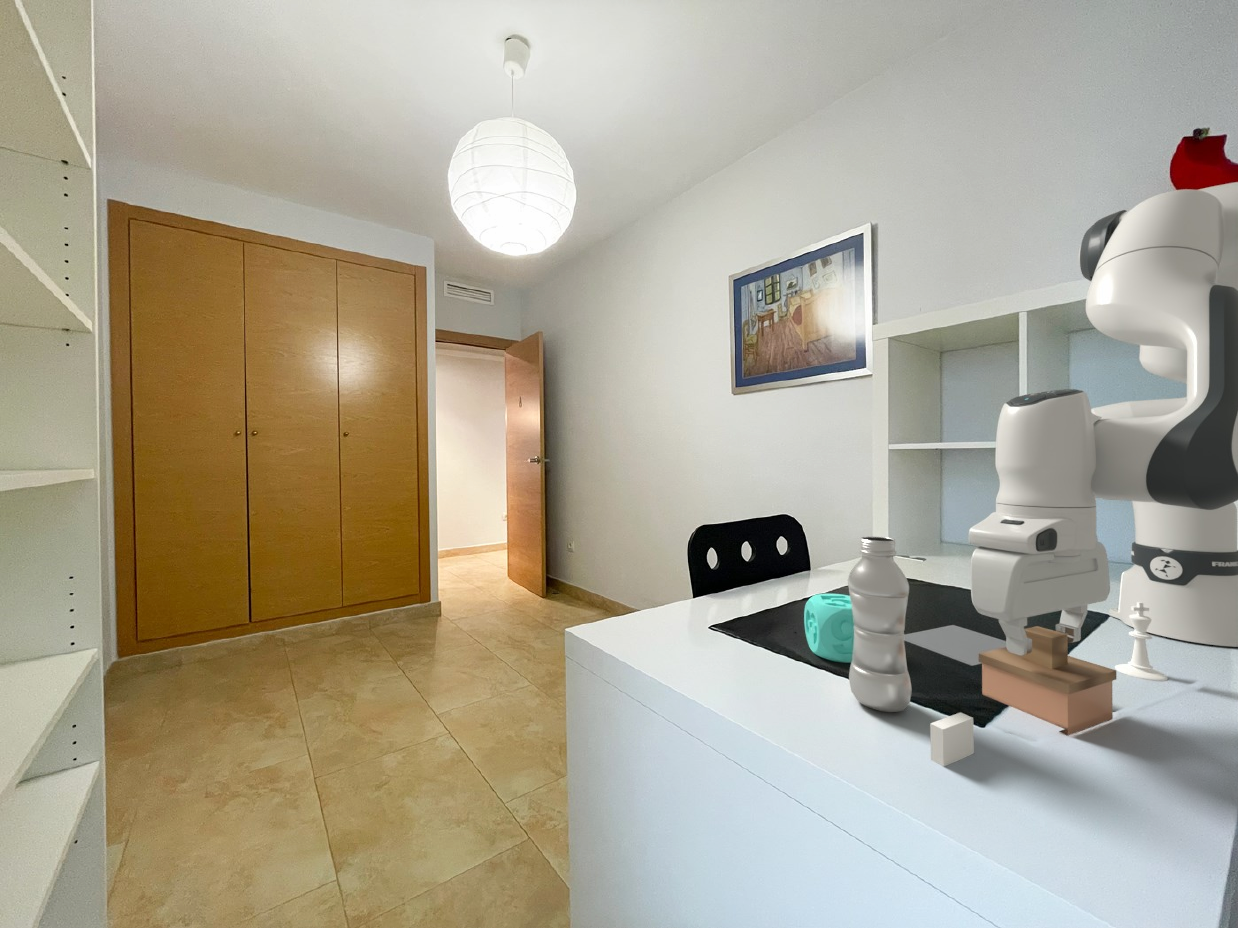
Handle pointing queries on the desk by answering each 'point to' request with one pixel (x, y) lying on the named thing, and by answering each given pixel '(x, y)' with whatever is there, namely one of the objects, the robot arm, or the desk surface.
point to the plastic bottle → (879, 628)
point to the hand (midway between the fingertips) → (1044, 646)
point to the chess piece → (1140, 649)
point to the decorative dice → (830, 626)
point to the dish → (1050, 700)
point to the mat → (956, 643)
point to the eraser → (951, 739)
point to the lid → (1049, 663)
